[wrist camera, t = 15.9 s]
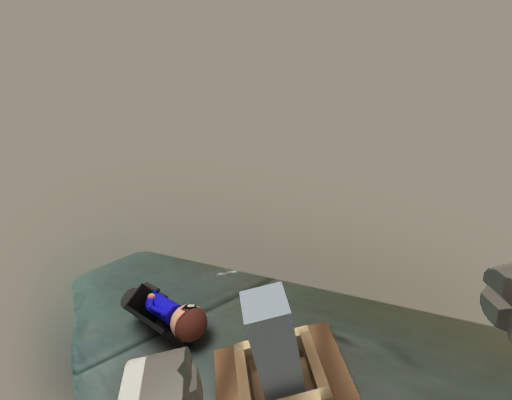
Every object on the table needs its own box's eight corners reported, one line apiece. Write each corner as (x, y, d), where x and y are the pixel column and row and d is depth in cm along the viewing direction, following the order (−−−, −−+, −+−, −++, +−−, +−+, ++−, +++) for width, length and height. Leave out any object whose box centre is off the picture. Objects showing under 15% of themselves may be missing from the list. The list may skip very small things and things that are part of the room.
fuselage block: (298, 367, 42) (281, 281, 36) (308, 402, 39) (291, 313, 32) (262, 376, 42) (239, 291, 36) (269, 413, 38) (244, 324, 32)
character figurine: (159, 301, 60) (219, 339, 50) (122, 327, 55) (179, 376, 46) (148, 264, 57) (209, 297, 47) (106, 289, 52) (165, 332, 42)
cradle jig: (327, 326, 48) (323, 300, 46) (380, 449, 34) (380, 421, 32) (215, 355, 48) (206, 329, 45) (222, 493, 33) (210, 467, 31)
